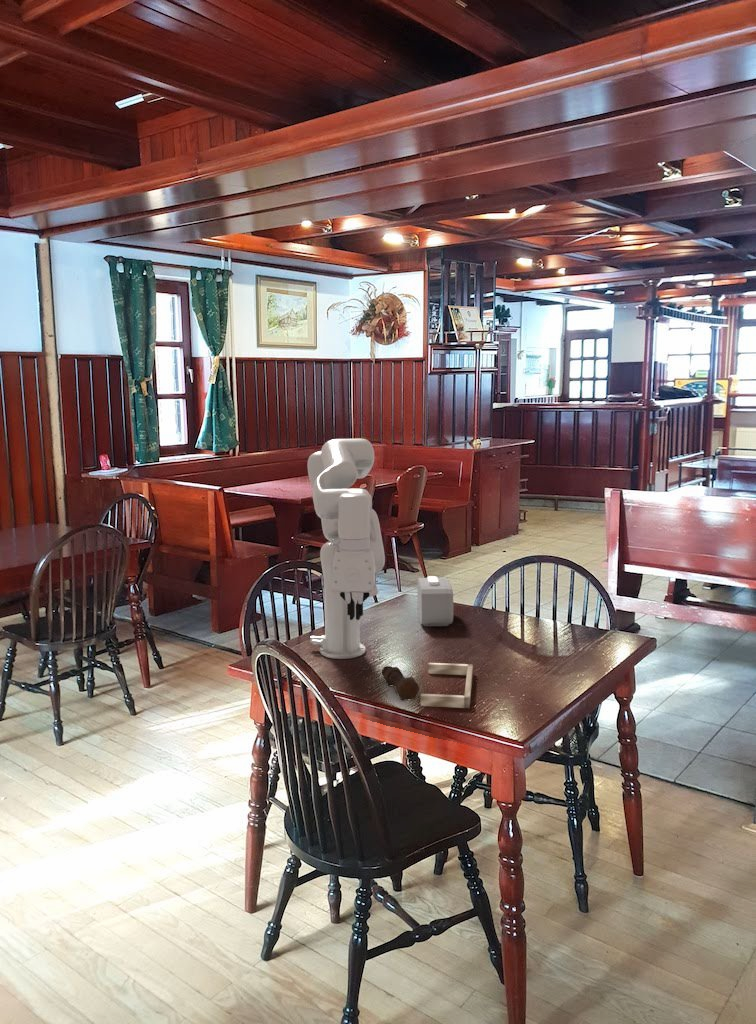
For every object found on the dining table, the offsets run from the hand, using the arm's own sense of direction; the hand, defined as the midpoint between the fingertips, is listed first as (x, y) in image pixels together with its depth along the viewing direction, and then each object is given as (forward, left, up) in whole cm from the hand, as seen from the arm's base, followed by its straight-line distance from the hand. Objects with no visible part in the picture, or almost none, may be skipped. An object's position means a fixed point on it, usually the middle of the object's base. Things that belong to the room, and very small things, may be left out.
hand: (355, 618), depth 199 cm
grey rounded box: (+15, +57, -17) cm, 61 cm away
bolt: (+11, -1, -18) cm, 21 cm away
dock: (+22, 0, -17) cm, 28 cm away
